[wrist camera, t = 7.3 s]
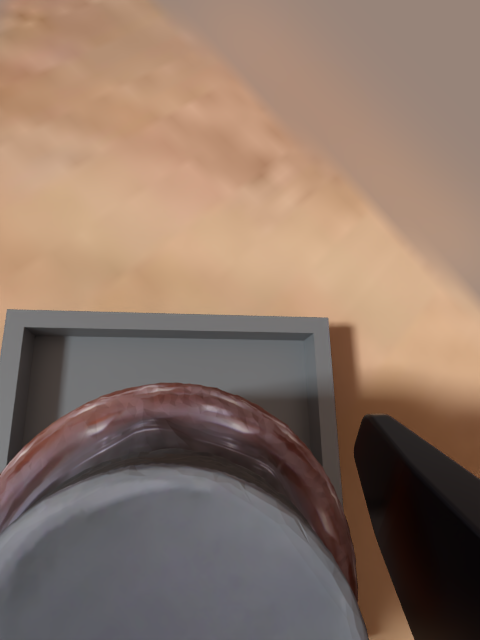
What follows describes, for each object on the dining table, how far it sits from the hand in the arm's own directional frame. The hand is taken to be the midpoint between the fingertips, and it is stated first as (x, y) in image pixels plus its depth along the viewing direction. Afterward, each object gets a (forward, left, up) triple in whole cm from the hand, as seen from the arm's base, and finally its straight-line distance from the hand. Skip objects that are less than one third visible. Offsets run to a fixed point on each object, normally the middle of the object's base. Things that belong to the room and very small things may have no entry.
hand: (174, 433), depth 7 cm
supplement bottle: (-1, +1, -8) cm, 8 cm away
